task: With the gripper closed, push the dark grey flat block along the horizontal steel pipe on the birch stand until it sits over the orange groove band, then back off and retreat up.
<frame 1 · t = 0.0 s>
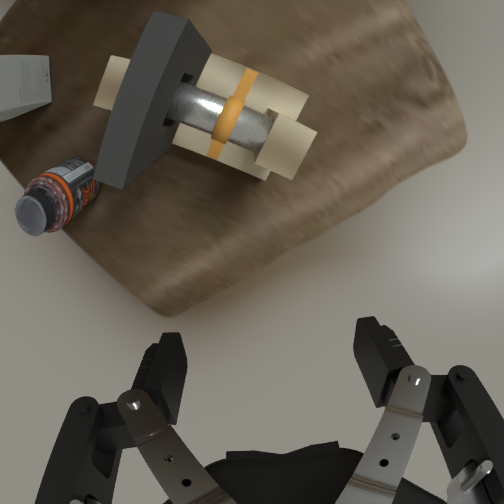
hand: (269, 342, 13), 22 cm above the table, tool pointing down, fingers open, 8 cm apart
small box: (28, 87, 24), on the table
dark grey flat block: (162, 97, 18), point 10 cm above the table, slide at 0.0 cm
supplement bottle: (83, 178, 31), on the table
pipe stand: (214, 105, 28), on the table
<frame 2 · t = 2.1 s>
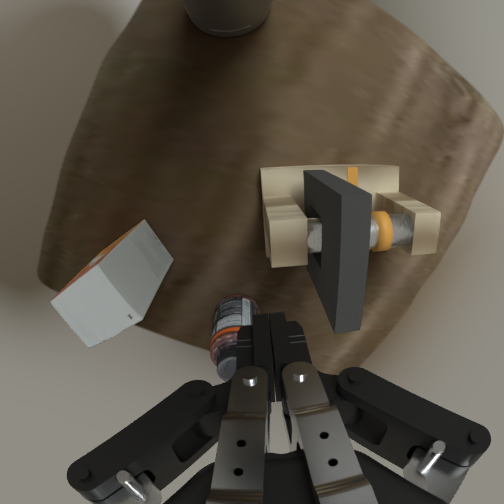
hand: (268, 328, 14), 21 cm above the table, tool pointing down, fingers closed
small box: (136, 254, 36), on the table
dark grey flat block: (330, 238, 24), point 10 cm above the table, slide at 0.0 cm
supplement bottle: (238, 310, 39), on the table
pipe stand: (331, 207, 34), on the table
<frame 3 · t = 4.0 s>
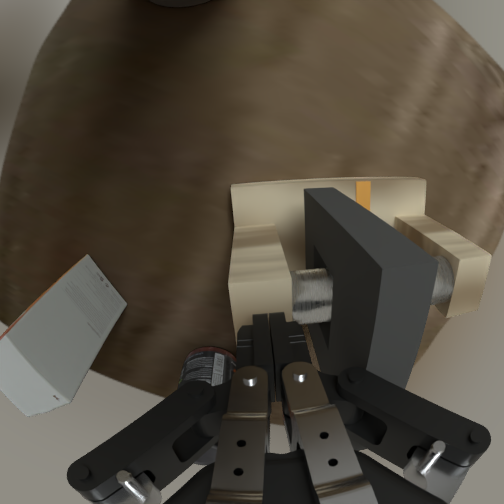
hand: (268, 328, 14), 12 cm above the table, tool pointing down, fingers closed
small box: (84, 295, 27), on the table
dark grey flat block: (344, 303, 15), point 10 cm above the table, slide at 0.9 cm, touching gripper, hand
supplement bottle: (212, 363, 30), on the table
pipe stand: (333, 237, 25), on the table
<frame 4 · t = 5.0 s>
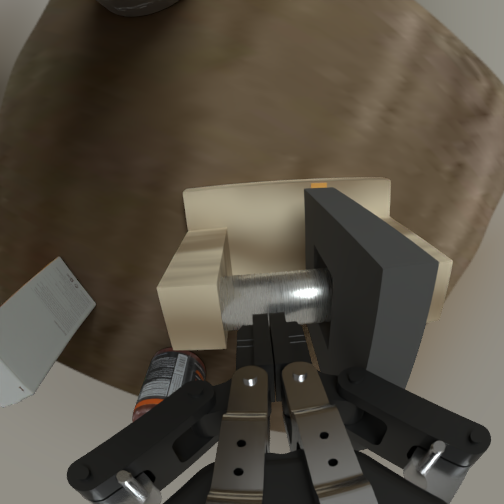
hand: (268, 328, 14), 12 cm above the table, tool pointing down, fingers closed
small box: (59, 295, 27), on the table
dark grey flat block: (344, 303, 15), point 10 cm above the table, slide at 4.4 cm, touching gripper
supplement bottle: (179, 364, 30), on the table
pipe stand: (291, 240, 25), on the table
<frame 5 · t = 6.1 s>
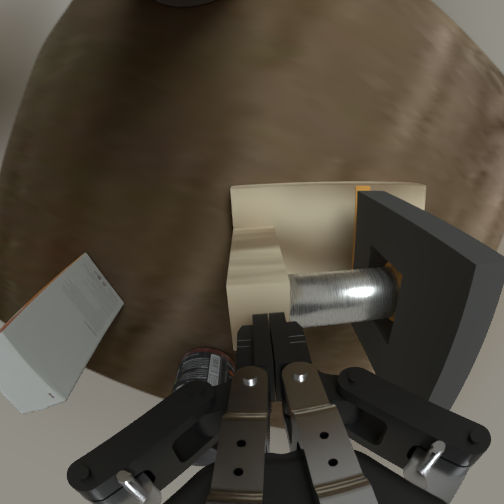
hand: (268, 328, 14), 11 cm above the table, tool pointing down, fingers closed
small box: (82, 293, 26), on the table
dark grey flat block: (402, 300, 15), point 10 cm above the table, slide at 4.6 cm
supplement bottle: (208, 364, 30), on the table
pipe stand: (331, 241, 25), on the table
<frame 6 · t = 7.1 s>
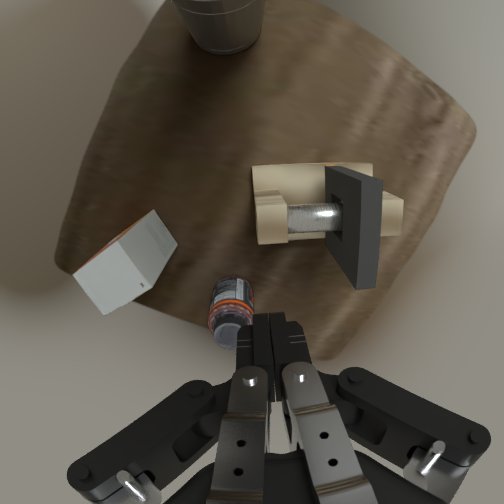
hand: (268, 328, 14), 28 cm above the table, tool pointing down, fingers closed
small box: (145, 240, 42), on the table
dark grey flat block: (348, 219, 30), point 10 cm above the table, slide at 4.6 cm
supplement bottle: (233, 290, 45), on the table
pipe stand: (313, 199, 40), on the table
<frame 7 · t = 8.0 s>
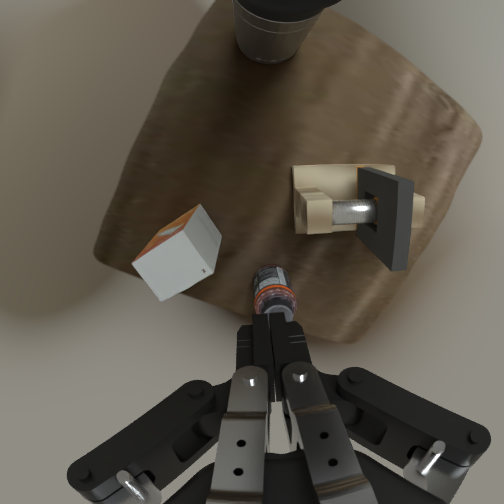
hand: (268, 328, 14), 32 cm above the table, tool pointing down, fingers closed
small box: (190, 232, 46), on the table
dark grey flat block: (381, 213, 34), point 10 cm above the table, slide at 4.6 cm
supplement bottle: (271, 278, 49), on the table
pipe stand: (344, 196, 44), on the table
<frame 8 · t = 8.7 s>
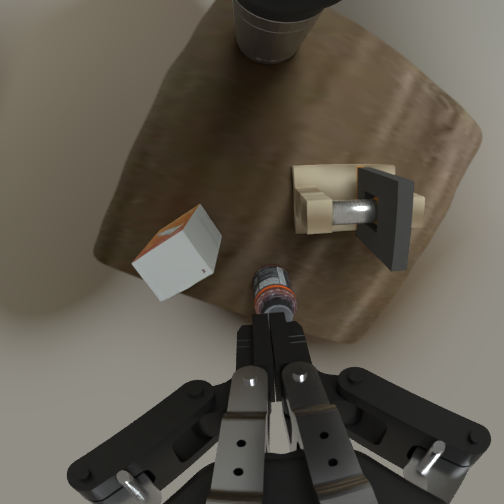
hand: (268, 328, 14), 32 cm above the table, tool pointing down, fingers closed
small box: (190, 232, 46), on the table
dark grey flat block: (381, 213, 34), point 10 cm above the table, slide at 4.6 cm
supplement bottle: (271, 278, 49), on the table
pipe stand: (344, 196, 44), on the table
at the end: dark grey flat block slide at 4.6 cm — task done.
